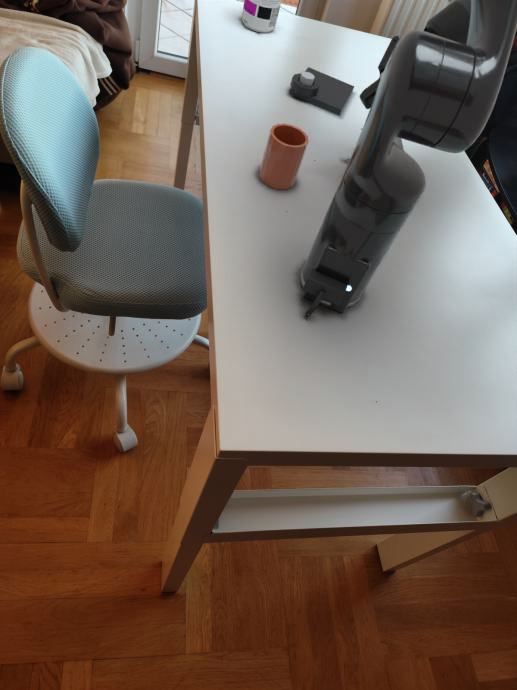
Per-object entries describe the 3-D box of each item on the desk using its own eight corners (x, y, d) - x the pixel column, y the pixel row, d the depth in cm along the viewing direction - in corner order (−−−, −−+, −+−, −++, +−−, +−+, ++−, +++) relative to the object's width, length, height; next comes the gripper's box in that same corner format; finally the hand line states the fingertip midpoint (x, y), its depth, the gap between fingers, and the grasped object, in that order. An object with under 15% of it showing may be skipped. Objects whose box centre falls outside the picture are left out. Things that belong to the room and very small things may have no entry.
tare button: (310, 88, 98) (312, 80, 97) (297, 82, 98) (299, 75, 97) (313, 82, 100) (316, 75, 99) (301, 77, 100) (303, 69, 99)
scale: (338, 118, 99) (343, 104, 97) (285, 95, 99) (289, 81, 97) (352, 92, 107) (357, 78, 104) (302, 71, 107) (306, 57, 105)
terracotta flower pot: (288, 194, 81) (302, 152, 74) (254, 179, 81) (265, 136, 75) (298, 175, 85) (312, 133, 78) (266, 161, 85) (277, 118, 78)
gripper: (495, 69, 70) (388, 144, 75) (449, 23, 76) (353, 95, 82) (489, 26, 64) (373, 111, 69) (440, -20, 70) (337, 61, 76)
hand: (362, 102), depth 76 cm, fingers closed
